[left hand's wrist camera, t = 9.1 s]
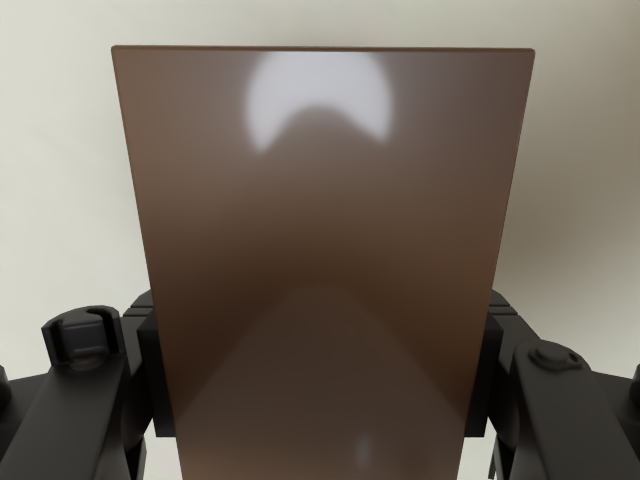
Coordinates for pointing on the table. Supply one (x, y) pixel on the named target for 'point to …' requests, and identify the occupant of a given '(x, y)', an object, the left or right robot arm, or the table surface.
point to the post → (321, 247)
